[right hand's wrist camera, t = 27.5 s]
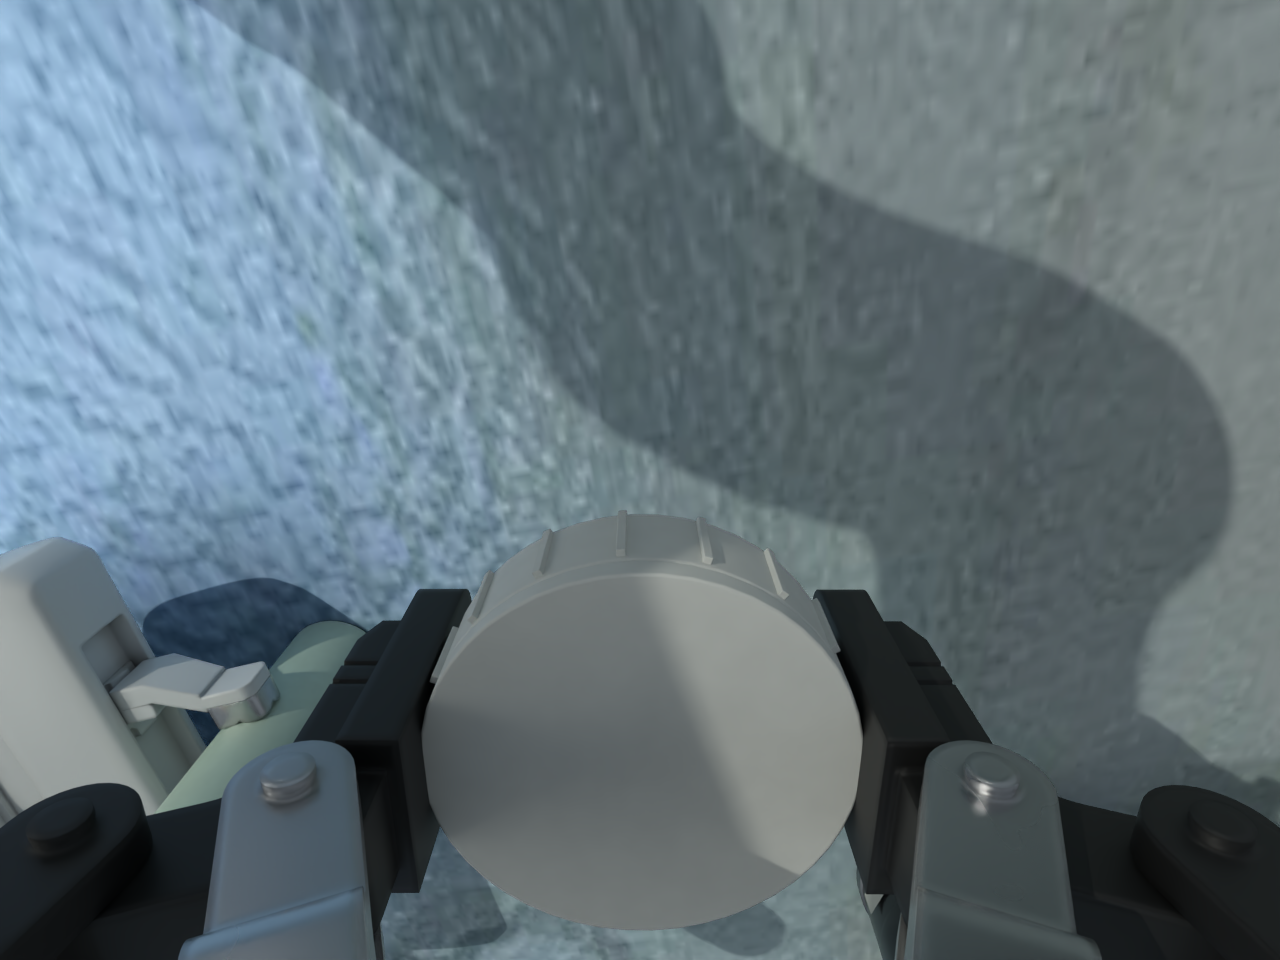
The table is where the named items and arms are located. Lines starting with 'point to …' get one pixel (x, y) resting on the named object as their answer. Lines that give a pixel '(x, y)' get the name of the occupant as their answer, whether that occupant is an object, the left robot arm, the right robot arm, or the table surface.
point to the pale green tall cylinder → (270, 712)
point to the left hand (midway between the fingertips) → (298, 748)
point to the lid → (641, 726)
